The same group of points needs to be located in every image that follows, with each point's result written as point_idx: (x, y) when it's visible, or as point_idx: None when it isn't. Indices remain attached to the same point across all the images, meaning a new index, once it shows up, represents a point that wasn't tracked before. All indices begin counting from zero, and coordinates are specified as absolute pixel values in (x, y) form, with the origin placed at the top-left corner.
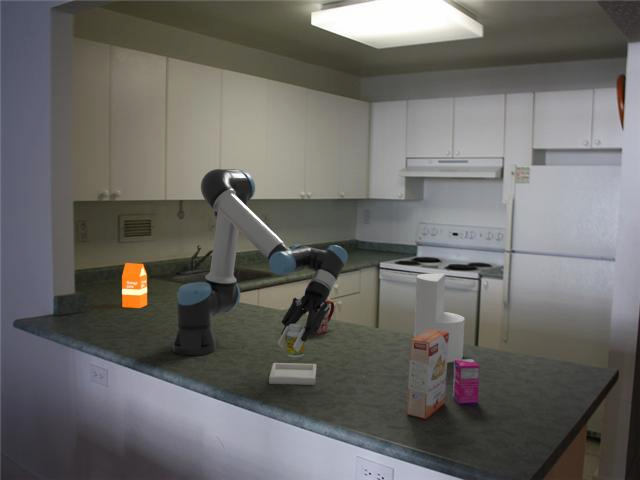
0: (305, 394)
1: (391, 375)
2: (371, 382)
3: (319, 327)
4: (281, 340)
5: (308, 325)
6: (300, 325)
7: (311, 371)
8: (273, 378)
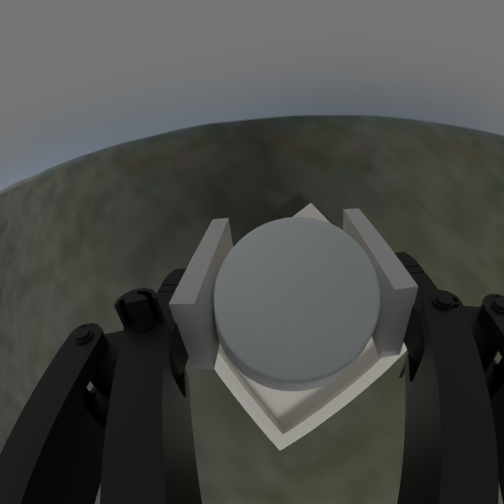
0: (161, 226)
1: None
2: None
3: None
4: (349, 223)
5: (126, 348)
6: (228, 319)
7: (269, 403)
8: (298, 213)
